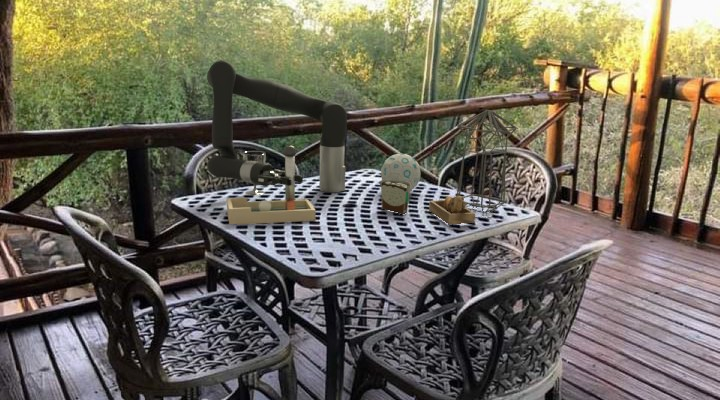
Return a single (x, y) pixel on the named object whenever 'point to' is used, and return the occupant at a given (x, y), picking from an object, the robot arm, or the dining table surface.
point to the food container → (395, 195)
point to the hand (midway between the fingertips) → (296, 180)
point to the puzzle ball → (401, 169)
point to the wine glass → (258, 157)
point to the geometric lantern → (491, 119)
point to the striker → (290, 176)
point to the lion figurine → (454, 204)
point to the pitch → (267, 212)
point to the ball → (264, 205)
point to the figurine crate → (449, 218)
